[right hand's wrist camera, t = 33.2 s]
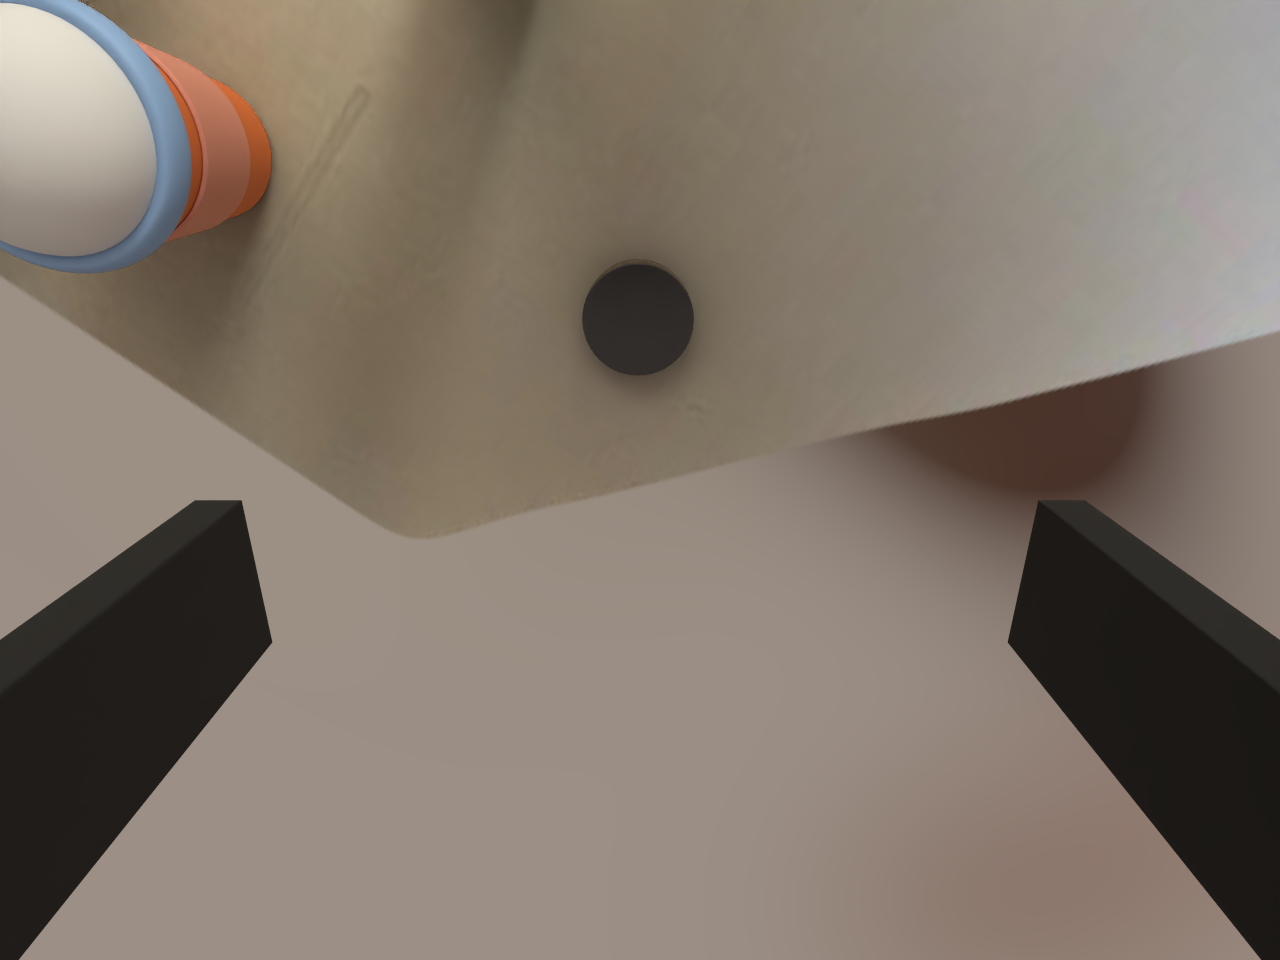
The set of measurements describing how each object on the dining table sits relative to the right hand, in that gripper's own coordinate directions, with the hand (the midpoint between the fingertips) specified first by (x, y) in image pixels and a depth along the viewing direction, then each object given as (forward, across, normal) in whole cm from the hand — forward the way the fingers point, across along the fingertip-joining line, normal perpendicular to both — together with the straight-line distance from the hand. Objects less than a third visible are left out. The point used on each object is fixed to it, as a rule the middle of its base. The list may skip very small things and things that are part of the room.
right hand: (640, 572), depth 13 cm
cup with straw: (+28, +20, -8) cm, 35 cm away
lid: (+26, 0, 0) cm, 26 cm away
